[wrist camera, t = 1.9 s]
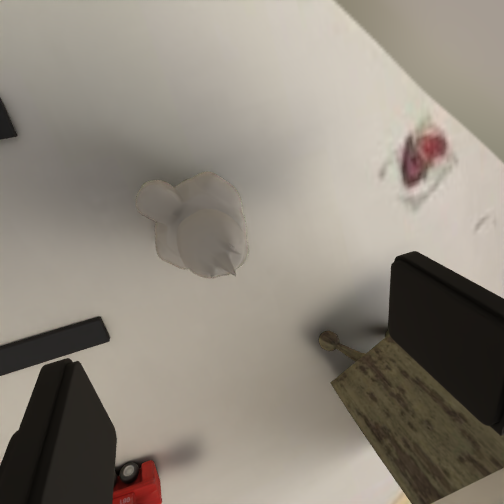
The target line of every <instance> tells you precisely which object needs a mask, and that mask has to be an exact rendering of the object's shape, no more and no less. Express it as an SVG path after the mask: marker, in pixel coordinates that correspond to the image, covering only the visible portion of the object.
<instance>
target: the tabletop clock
mask: <svg viewBox="0 0 504 504" xmlns="http://www.w3.org/2000/svg"><path fill="white" fill-rule="evenodd" d="M319 343H320V346H321V347H322V348H323V349H324V350H327V351H333V350H335V349H337V350H339V351H340V352H342V353H343V354H345V355H346V356H348V357H349V358H350V359H352V360H353V361H355V363H354V364H353V365H352V366H350V367H349V368H348V369H347V370H345V371H344V372H343V373H342V374H341V375H339V376H338V377H337V378H336V379H334V380H333V381H332V382H331V384H332V386H333V388H334V390H335V391H336V393H337V394H338V396H339V398H340V399H341V401H342V402H343V404H344V405H345V407H346V408H347V410H348V411H349V413H350V414H351V416H352V417H353V419H354V420H355V422H356V423H357V425H358V426H359V428H360V429H361V431H362V432H363V434H364V435H365V437H366V438H367V440H368V441H369V442H370V444H371V445H372V447H373V448H374V450H375V451H376V453H377V454H378V456H379V457H380V459H381V460H382V462H383V463H384V464H385V466H386V467H387V469H388V470H389V472H390V473H391V474H392V476H393V477H394V479H395V480H396V482H397V483H398V485H399V486H400V487H401V489H402V490H403V492H404V493H405V495H406V496H407V497H408V499H409V500H410V502H411V503H412V504H431V503H433V502H435V501H437V500H439V499H442V498H444V497H446V496H448V495H450V494H452V493H454V492H456V491H458V490H460V489H462V488H464V487H466V486H468V485H470V484H472V483H474V482H476V481H478V480H480V479H482V478H484V477H486V476H488V475H490V474H492V473H494V472H496V471H498V470H501V469H503V468H504V435H502V436H500V435H499V434H498V433H497V432H496V431H495V430H494V429H492V428H491V427H490V426H486V425H484V424H482V423H481V422H480V421H479V420H478V419H476V418H475V417H474V416H473V415H472V414H471V413H470V412H469V411H468V410H467V409H466V408H465V407H464V406H463V405H462V404H461V403H460V402H458V401H457V400H456V399H455V398H454V397H453V396H452V395H451V394H450V393H449V392H448V391H447V390H446V389H445V388H444V387H443V386H442V385H440V384H439V383H438V382H437V381H436V380H435V379H434V378H433V377H432V376H431V375H430V374H429V373H428V372H427V371H426V370H425V369H423V368H422V367H421V366H420V365H419V364H418V363H417V362H416V361H415V360H414V359H413V358H412V357H411V356H410V355H409V354H408V353H407V352H405V351H404V350H403V349H402V348H401V347H400V346H399V345H398V344H397V343H396V342H395V341H394V340H393V339H392V338H391V336H390V334H389V331H387V332H386V334H385V338H384V339H383V340H382V341H381V342H380V343H378V344H377V345H376V346H375V347H373V348H372V349H371V350H370V351H369V352H367V353H366V354H364V353H361V352H358V351H356V350H354V349H351V348H349V347H347V346H345V345H342V344H340V343H339V338H338V336H337V334H335V333H334V332H331V331H325V332H323V333H322V334H321V335H320V337H319Z"/></svg>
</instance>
